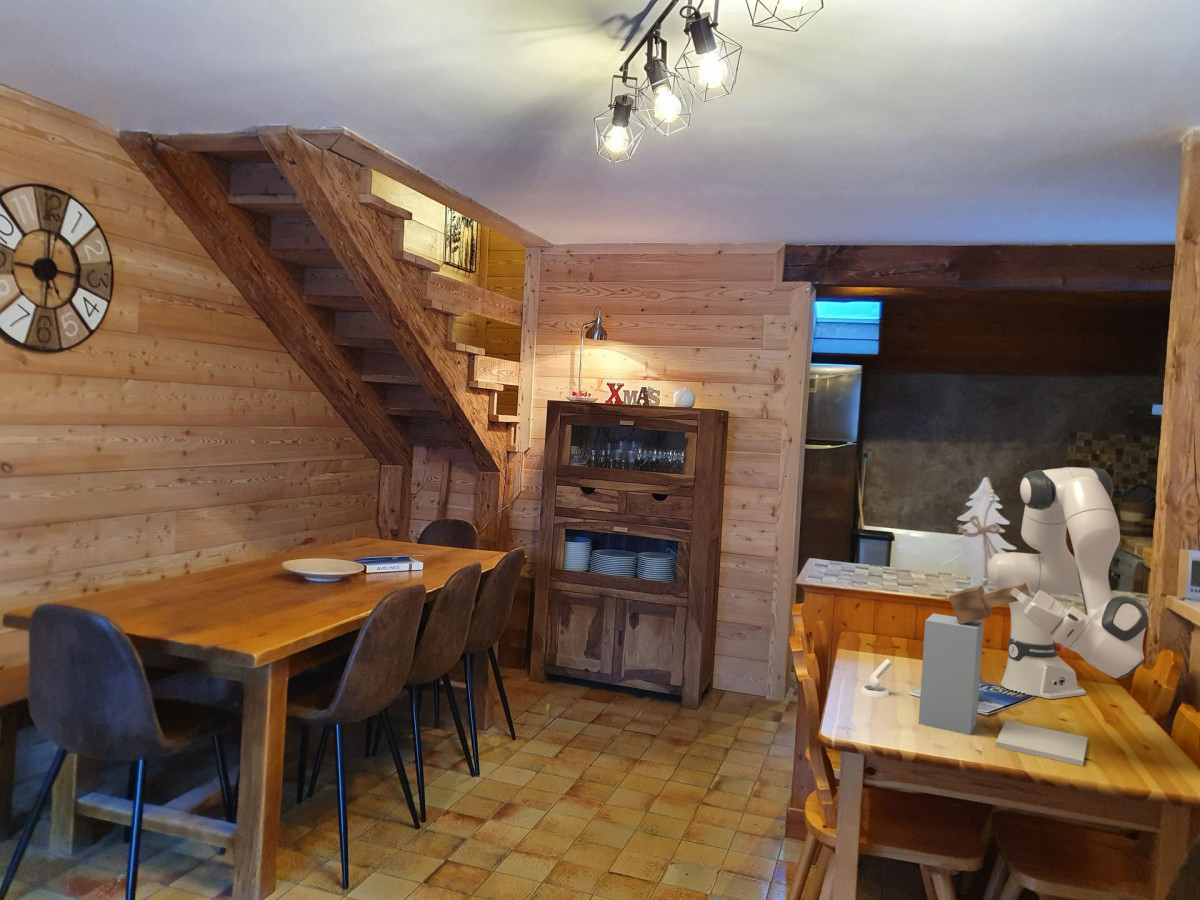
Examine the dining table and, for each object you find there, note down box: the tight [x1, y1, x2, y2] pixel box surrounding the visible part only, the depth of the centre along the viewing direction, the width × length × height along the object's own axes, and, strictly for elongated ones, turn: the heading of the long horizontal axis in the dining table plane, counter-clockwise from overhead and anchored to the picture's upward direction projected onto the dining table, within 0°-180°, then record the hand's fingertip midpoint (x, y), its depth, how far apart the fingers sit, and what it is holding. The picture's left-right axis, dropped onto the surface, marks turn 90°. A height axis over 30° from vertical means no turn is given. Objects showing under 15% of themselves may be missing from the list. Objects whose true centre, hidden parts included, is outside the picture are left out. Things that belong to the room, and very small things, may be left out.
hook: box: [860, 658, 892, 699], centre depth 240 cm, size 8×12×7 cm
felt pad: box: [995, 720, 1089, 767], centre depth 208 cm, size 18×18×1 cm
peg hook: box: [948, 582, 1031, 624], centre depth 214 cm, size 17×7×7 cm, turn 58°
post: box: [918, 612, 985, 736], centre depth 219 cm, size 12×10×26 cm
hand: (1013, 588), depth 211 cm, fingers closed on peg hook, 3 cm apart
